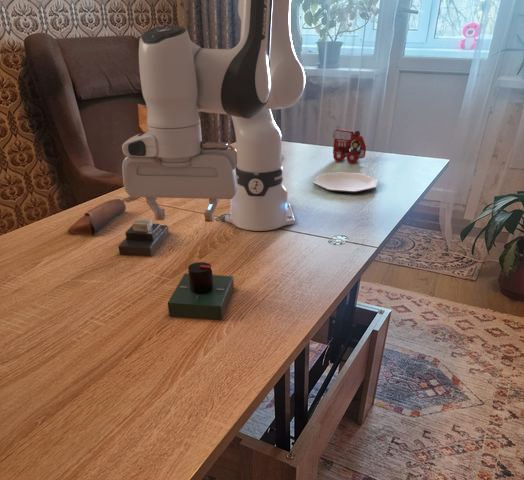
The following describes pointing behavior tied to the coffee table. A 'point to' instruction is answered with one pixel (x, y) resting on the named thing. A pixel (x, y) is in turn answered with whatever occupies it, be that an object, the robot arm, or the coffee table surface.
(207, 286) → the volume dial
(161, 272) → the coffee table surface
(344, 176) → the plate
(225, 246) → the coffee table surface
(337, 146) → the toy fire truck
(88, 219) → the sunglasses case
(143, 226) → the key
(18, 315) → the coffee table surface
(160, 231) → the key block
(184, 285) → the volume panel
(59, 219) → the coffee table surface
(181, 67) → the robot arm
